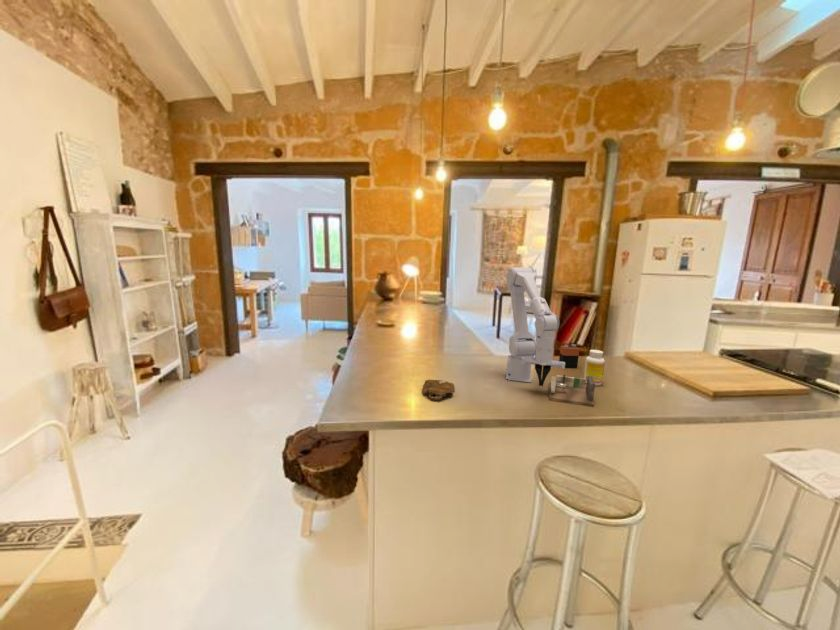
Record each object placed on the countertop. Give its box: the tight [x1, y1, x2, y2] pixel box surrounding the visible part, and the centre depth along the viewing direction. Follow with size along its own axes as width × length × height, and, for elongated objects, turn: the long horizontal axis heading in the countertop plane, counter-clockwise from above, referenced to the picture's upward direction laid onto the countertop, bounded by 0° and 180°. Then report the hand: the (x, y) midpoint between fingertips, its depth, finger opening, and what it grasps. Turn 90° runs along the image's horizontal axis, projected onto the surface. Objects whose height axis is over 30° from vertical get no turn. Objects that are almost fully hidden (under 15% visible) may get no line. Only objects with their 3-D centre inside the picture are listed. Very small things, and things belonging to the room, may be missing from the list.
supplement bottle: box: [583, 349, 606, 386], centre depth 146 cm, size 7×7×13 cm
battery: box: [558, 343, 580, 369], centre depth 166 cm, size 4×7×10 cm, turn 93°
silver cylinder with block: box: [550, 374, 568, 393], centre depth 136 cm, size 6×10×4 cm, turn 162°
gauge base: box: [548, 375, 596, 407], centre depth 134 cm, size 14×15×7 cm
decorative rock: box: [422, 379, 456, 401], centre depth 132 cm, size 11×4×15 cm
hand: (541, 384), depth 136 cm, fingers closed
